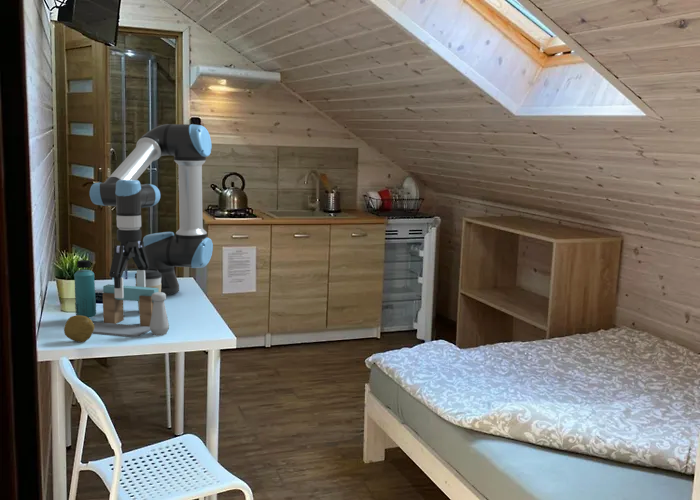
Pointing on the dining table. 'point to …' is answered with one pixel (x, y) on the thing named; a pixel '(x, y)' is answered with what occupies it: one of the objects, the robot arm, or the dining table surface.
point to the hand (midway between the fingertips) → (130, 293)
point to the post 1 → (112, 309)
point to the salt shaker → (159, 315)
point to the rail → (131, 292)
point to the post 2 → (145, 310)
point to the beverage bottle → (84, 290)
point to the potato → (79, 328)
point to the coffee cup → (151, 280)
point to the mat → (120, 329)
